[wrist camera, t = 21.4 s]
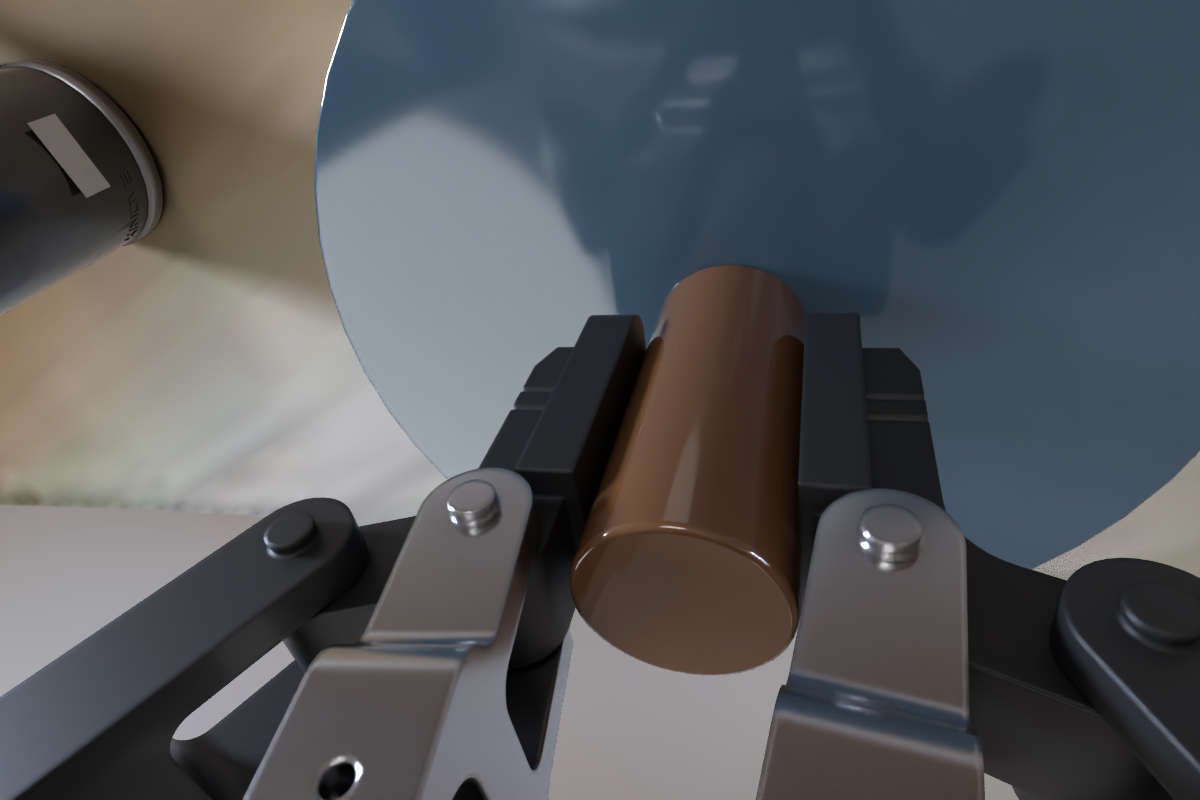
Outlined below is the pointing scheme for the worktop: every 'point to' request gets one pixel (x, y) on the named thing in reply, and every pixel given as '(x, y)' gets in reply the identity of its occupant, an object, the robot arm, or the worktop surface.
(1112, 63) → the lid
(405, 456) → the worktop surface
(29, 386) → the worktop surface
